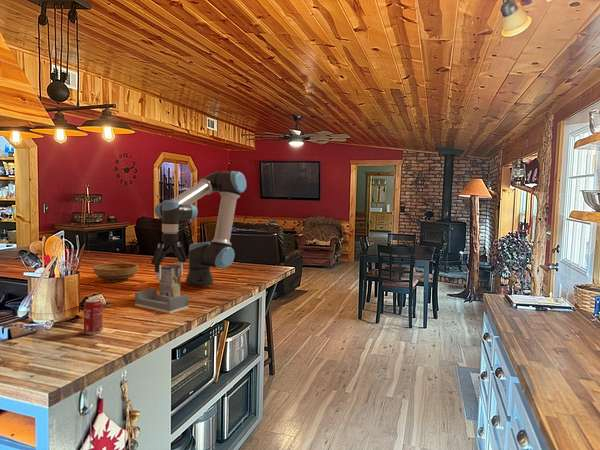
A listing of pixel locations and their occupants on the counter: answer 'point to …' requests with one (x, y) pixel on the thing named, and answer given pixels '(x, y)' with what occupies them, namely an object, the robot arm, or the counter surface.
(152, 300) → the grey tray
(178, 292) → the coffee box
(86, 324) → the beverage can
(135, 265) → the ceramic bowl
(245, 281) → the counter surface
